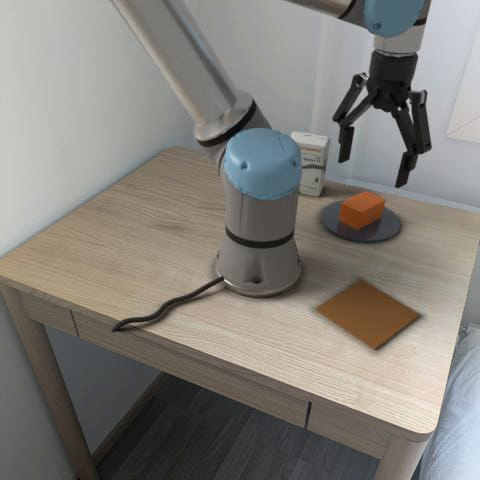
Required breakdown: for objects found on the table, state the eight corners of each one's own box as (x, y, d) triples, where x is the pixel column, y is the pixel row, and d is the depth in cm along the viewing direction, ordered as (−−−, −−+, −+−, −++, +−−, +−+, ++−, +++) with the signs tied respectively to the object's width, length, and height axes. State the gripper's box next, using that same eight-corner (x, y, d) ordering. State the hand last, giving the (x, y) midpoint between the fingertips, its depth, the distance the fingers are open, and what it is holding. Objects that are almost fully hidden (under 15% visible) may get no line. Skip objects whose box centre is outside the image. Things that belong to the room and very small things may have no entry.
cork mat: (374, 350, 74) (375, 348, 74) (315, 310, 81) (315, 308, 81) (419, 316, 80) (420, 314, 80) (361, 281, 87) (361, 279, 87)
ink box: (281, 190, 111) (285, 139, 103) (287, 181, 114) (291, 130, 106) (319, 197, 109) (327, 145, 101) (324, 187, 112) (331, 136, 104)
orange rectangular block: (357, 230, 98) (361, 212, 95) (338, 220, 101) (341, 202, 98) (381, 217, 102) (386, 199, 99) (362, 207, 105) (366, 190, 102)
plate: (366, 252, 94) (367, 249, 93) (304, 218, 102) (305, 215, 102) (414, 223, 102) (415, 221, 101) (353, 194, 110) (354, 192, 110)
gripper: (478, 63, 75) (438, 190, 90) (350, 32, 89) (334, 146, 103) (451, 73, 72) (415, 203, 86) (322, 39, 85) (310, 156, 100)
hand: (371, 172), depth 95 cm, fingers open, 13 cm apart
